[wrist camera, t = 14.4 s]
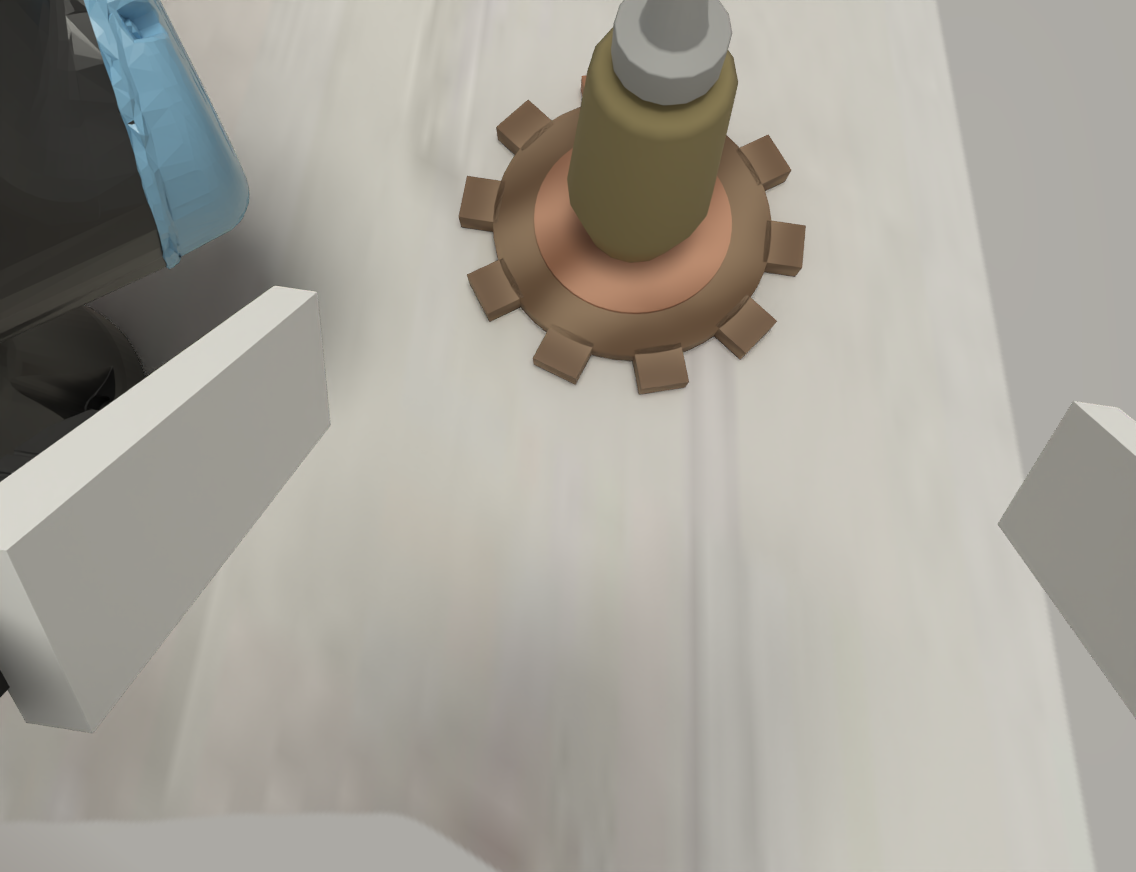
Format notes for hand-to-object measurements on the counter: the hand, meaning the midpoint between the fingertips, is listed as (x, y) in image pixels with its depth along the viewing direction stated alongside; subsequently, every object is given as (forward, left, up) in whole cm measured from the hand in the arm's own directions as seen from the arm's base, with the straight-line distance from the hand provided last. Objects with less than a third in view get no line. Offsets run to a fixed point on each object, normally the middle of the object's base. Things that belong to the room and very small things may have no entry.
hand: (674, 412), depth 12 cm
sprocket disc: (-11, +14, -26) cm, 32 cm away
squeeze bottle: (-11, +14, -25) cm, 31 cm away
